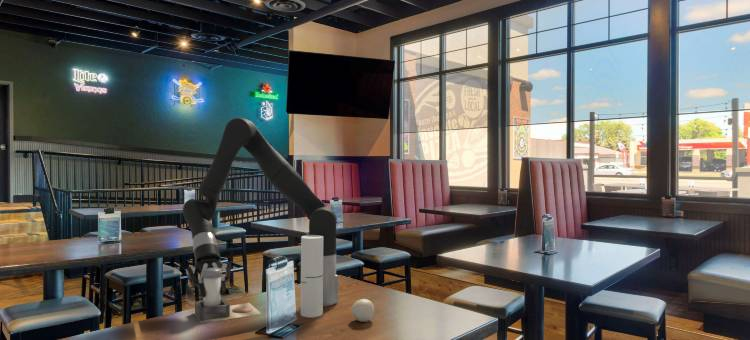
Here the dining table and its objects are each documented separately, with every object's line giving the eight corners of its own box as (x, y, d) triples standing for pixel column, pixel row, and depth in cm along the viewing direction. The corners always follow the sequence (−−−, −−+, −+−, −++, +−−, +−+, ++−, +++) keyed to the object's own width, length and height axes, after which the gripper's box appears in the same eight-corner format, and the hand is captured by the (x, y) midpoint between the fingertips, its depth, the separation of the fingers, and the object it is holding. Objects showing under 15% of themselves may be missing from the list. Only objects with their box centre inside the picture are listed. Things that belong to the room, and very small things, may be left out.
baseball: (350, 317, 146) (350, 296, 146) (373, 317, 147) (373, 296, 147) (351, 325, 139) (351, 303, 139) (375, 324, 140) (375, 302, 140)
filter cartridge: (219, 310, 146) (219, 266, 146) (223, 315, 142) (223, 270, 142) (201, 313, 144) (201, 268, 143) (204, 318, 139) (204, 272, 139)
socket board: (249, 307, 155) (249, 292, 155) (261, 318, 144) (261, 302, 144) (192, 315, 146) (192, 300, 146) (200, 328, 135) (200, 311, 135)
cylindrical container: (318, 318, 145) (319, 238, 145) (297, 316, 146) (297, 238, 146) (325, 311, 152) (326, 235, 152) (305, 309, 153) (305, 234, 153)
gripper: (183, 244, 145) (190, 291, 135) (230, 240, 153) (239, 285, 142) (180, 258, 150) (187, 304, 140) (226, 254, 157) (235, 298, 147)
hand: (213, 294), depth 141 cm, fingers closed on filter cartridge, 5 cm apart
